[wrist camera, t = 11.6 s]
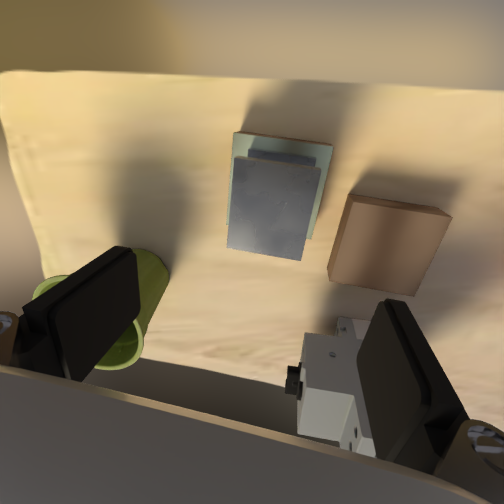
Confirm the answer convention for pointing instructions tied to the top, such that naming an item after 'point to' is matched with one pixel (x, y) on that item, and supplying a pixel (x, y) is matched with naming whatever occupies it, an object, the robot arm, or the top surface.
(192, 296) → the top surface
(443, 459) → the robot arm
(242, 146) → the stand
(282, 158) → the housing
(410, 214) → the stand
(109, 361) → the plant pot
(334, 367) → the circuit breaker
